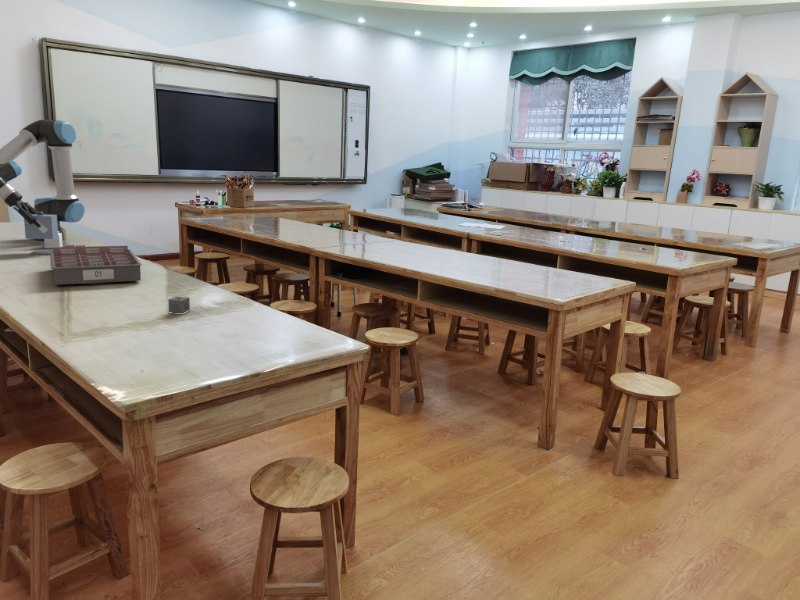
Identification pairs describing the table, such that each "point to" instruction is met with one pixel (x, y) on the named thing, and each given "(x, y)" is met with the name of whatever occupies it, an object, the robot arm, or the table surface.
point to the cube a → (69, 246)
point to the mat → (41, 252)
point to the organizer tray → (94, 264)
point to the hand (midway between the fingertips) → (49, 230)
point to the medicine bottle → (54, 241)
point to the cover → (47, 221)
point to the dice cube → (179, 304)
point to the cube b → (80, 246)
